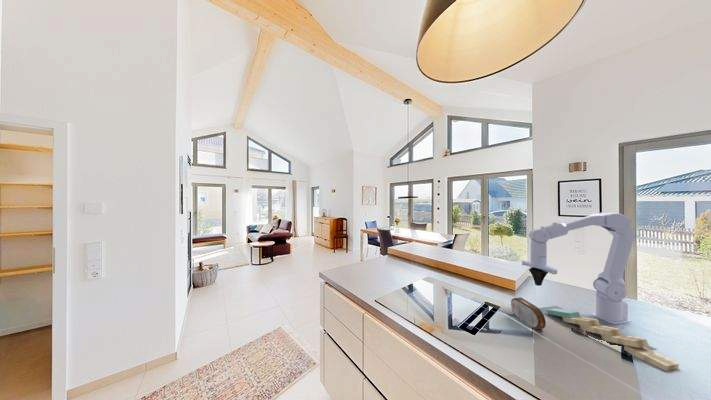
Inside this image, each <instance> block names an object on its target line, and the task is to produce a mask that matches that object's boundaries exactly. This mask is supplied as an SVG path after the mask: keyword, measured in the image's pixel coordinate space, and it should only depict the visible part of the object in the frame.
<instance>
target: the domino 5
mask: <svg viewBox="0 0 711 400" xmlns="http://www.w3.org/2000/svg"><path fill="white" fill-rule="evenodd" d="M624 350H625V351H627V352H628V353H630V354H632V356H634V357H636V358H638V359H640V360H642V361H645V362H646V363H648V364H651V365H653V366H655V367H657V368H659V369H662V370H664V371H665V372H668V371H669V372H670V371H674V370H677V369H679V366H680V365H679V364H680V363H679V362H676V361H675V360H673V359H670V358H668V357H666V356H664V355H662V354H660V353H657V352H655V351H654V350H652V351H651V350H649V349H647V348H645V347H639V348H637V347H632V346H627V345H624Z"/></svg>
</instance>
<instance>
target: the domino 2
mask: <svg viewBox="0 0 711 400" xmlns="http://www.w3.org/2000/svg"><path fill="white" fill-rule="evenodd" d="M562 318H563V322H568V323H573V324H578V325H583V326H588V327H591V326H597V325H601V324H600V321H599V319H596V318H591V317H584V316H581V317H576V318H567V317H562Z"/></svg>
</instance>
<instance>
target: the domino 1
mask: <svg viewBox="0 0 711 400" xmlns="http://www.w3.org/2000/svg"><path fill="white" fill-rule="evenodd" d="M563 309H564V308H562V309H557V308H555V309H547V313H548V314H550V315H555V316H561V317H567V318H576V317H580V316H581V314H580V312H579V311H576V310H571V309H570V310H568V309H564V310H563Z"/></svg>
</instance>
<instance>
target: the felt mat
mask: <svg viewBox="0 0 711 400" xmlns="http://www.w3.org/2000/svg"><path fill="white" fill-rule="evenodd" d="M538 308H539V309H540V310H541V312H542V313H543V315H544V317H547V318H548V319H551V320H553V321H554V322H557V323H558V324H561V325H563V326H565V327H567V328H569V327H570V328H569V329H571V328H580V325H578V324H573V323H568V322H563V318H562V317H561V316H555V315H550V314H548V313H547V309H555V308H557V309H563V310H565V309H564V308H562V307H559V306H557V305H552V306H547V307H546V306H544V307H538ZM580 317H582V316H581V315H580ZM580 329H581V328H580ZM587 332H588V331H587ZM621 334H622V335H624V334H623V333H621ZM588 335H589V336H591V337H593V338H595V339H598V340H603V339H602V336H601V334H597V333H592V332H588ZM601 342H602V341H601ZM606 342H607V343H609V344H610V345H618V346H624V345H622V344H617V343H613V342H608V341H606ZM597 343H599V341H598V342H597ZM644 347H645V348H647V349H649V350H651V351H657V350H658V349H657V348H656V347H653V346H650V345H649V346H644ZM631 355H632V354H630V355H629V356H631ZM632 356H633V355H632Z"/></svg>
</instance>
